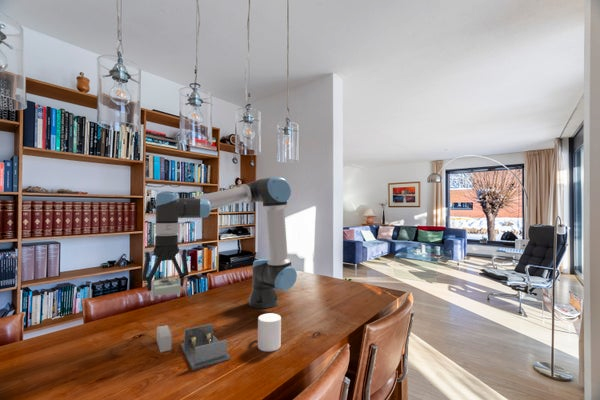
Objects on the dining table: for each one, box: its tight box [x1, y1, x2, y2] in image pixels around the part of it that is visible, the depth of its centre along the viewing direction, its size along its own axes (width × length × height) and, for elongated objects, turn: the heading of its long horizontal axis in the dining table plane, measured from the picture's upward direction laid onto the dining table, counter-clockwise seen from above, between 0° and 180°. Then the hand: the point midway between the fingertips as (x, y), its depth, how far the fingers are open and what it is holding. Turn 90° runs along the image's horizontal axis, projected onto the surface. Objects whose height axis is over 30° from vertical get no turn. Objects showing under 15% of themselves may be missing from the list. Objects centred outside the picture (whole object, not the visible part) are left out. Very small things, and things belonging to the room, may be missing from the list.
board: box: [153, 277, 182, 297], centre depth 103 cm, size 12×8×3 cm, turn 33°
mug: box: [257, 312, 282, 352], centre depth 104 cm, size 8×10×12 cm
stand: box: [156, 324, 173, 353], centre depth 102 cm, size 10×4×5 cm, turn 33°
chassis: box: [180, 322, 231, 371], centre depth 97 cm, size 18×12×6 cm, turn 33°
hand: (165, 297), depth 103 cm, fingers closed on board, 8 cm apart
